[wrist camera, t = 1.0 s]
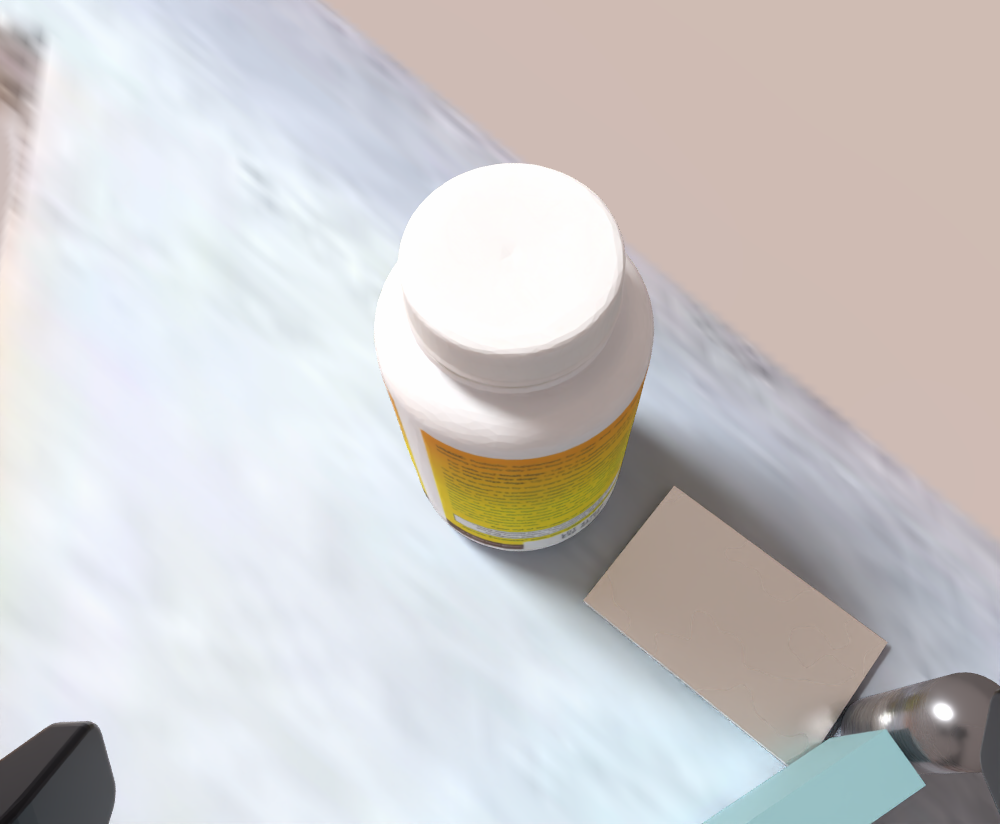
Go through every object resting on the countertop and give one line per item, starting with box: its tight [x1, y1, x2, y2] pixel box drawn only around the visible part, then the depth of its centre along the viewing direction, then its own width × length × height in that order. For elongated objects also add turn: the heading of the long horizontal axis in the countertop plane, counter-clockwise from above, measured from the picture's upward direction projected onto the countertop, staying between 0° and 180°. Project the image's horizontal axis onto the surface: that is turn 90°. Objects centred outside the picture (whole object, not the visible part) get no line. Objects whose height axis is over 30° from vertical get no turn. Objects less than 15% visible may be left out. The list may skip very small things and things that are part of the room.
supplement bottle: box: [374, 163, 654, 551], centre depth 20 cm, size 6×6×10 cm
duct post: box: [583, 486, 1000, 774], centre depth 20 cm, size 8×4×5 cm, turn 50°
